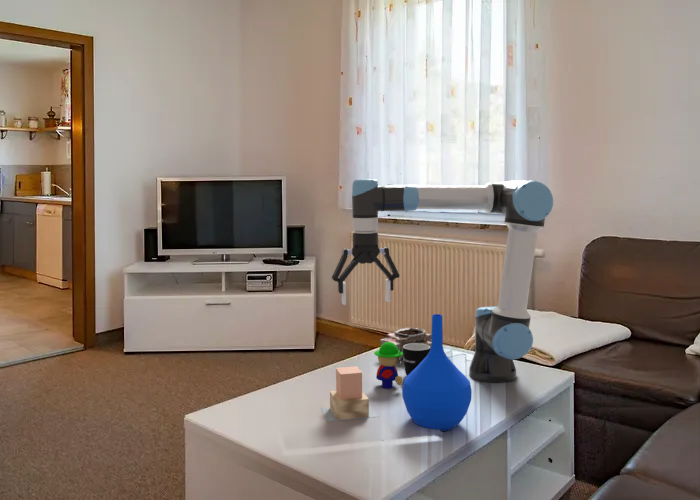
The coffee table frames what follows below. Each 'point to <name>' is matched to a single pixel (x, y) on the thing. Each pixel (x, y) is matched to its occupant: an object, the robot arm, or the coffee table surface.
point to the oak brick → (349, 406)
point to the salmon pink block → (349, 382)
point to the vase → (436, 387)
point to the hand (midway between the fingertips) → (366, 302)
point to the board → (331, 417)
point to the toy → (389, 364)
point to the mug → (414, 355)
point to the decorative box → (407, 337)
